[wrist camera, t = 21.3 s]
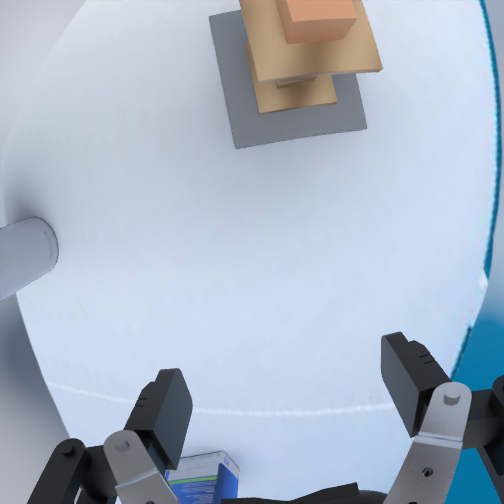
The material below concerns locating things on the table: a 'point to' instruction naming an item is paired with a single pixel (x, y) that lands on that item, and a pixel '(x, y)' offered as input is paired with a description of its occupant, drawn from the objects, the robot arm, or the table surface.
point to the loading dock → (284, 122)
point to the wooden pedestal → (302, 59)
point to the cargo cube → (315, 19)
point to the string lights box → (204, 479)
